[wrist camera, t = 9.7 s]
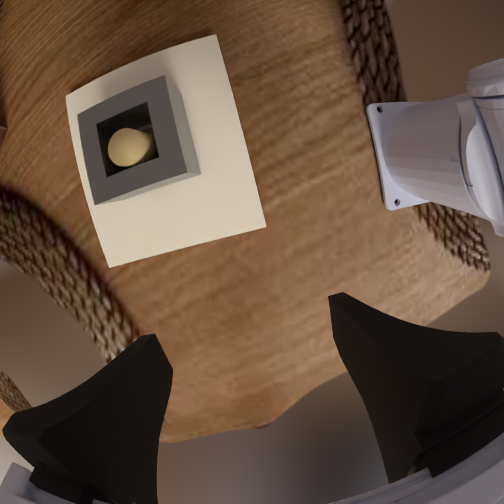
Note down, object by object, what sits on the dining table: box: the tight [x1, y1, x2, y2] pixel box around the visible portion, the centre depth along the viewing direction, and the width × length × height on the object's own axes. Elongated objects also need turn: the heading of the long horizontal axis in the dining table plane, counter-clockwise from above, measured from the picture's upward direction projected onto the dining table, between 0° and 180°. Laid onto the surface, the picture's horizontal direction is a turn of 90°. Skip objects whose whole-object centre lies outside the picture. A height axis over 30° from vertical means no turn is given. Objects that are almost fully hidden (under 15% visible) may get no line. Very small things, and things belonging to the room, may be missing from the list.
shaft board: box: [66, 34, 266, 268], centre depth 15 cm, size 12×14×6 cm
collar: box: [77, 75, 201, 205], centre depth 14 cm, size 6×6×4 cm
